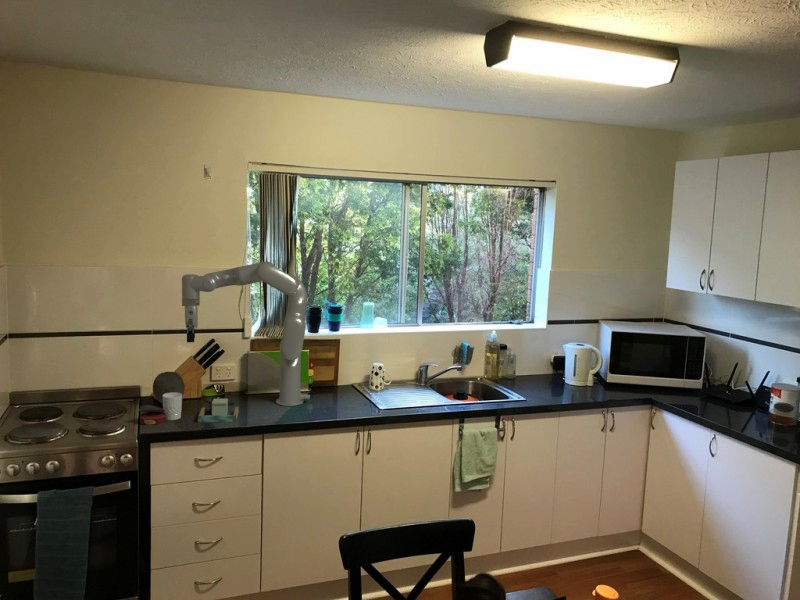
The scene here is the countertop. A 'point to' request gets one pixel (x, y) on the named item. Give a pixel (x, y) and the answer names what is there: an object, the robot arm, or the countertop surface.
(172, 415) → the white cup
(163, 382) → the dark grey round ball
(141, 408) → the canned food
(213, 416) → the bay
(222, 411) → the crate
